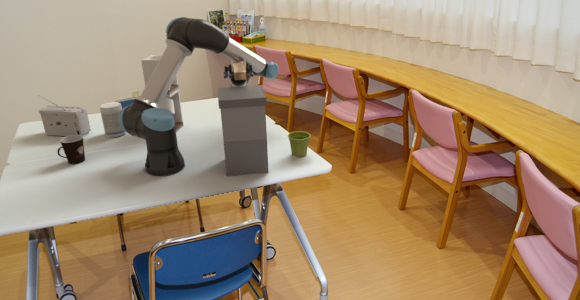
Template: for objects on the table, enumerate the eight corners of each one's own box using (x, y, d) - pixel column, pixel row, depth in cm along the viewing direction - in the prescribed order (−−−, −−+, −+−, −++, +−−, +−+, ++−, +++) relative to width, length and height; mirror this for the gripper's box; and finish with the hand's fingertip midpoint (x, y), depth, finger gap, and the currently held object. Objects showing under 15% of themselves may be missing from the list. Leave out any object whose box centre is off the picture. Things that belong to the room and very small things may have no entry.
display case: (152, 132, 216) (141, 60, 202) (161, 125, 226) (151, 55, 212) (175, 133, 214) (165, 60, 200) (183, 125, 224) (174, 55, 210)
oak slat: (234, 80, 175) (234, 72, 174) (233, 68, 193) (232, 61, 192) (246, 79, 176) (245, 71, 174) (243, 68, 194) (243, 61, 193)
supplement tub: (130, 134, 215) (124, 104, 209) (110, 139, 209) (104, 109, 203) (120, 129, 222) (115, 100, 216) (102, 134, 216) (96, 105, 210)
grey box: (225, 176, 170) (218, 100, 158) (224, 158, 186) (218, 87, 174) (269, 172, 172) (266, 97, 161) (265, 155, 188) (262, 85, 176)
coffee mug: (83, 155, 193) (78, 133, 189) (91, 160, 187) (86, 138, 183) (54, 163, 186) (49, 141, 182) (62, 169, 180) (56, 146, 176)
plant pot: (297, 148, 194) (297, 129, 190) (315, 153, 188) (315, 134, 185) (283, 155, 187) (282, 136, 184) (301, 161, 182) (301, 141, 178)
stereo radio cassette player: (92, 132, 219) (83, 92, 211) (81, 138, 211) (72, 97, 203) (55, 130, 223) (45, 91, 215) (43, 136, 216) (32, 95, 208)
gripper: (258, 85, 209) (260, 70, 186) (220, 87, 207) (217, 73, 184) (256, 69, 210) (259, 53, 187) (218, 72, 208) (216, 55, 185)
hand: (238, 63), depth 186 cm, fingers closed on oak slat, 4 cm apart
